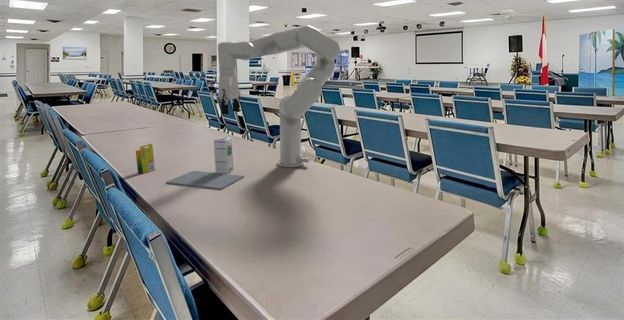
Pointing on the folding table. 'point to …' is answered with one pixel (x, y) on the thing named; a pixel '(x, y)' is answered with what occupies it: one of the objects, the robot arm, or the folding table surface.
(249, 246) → the folding table surface
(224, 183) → the mat
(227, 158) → the syrup box
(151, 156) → the crayon box
